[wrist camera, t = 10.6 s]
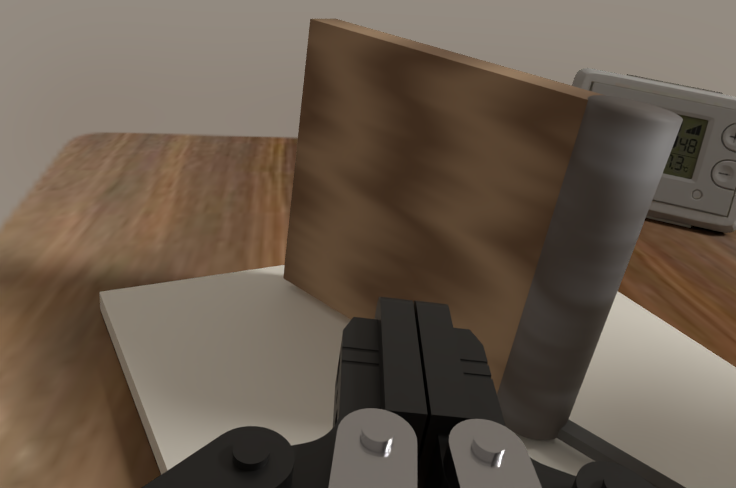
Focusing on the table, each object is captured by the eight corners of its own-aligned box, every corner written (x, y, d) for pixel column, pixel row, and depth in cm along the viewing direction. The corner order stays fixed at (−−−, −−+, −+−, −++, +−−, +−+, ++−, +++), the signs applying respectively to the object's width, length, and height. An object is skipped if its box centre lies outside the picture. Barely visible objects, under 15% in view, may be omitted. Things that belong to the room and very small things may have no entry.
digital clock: (534, 193, 55) (570, 71, 50) (554, 168, 63) (586, 59, 58) (736, 254, 50) (797, 123, 45) (731, 218, 57) (783, 102, 53)
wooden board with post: (868, 584, 21) (1136, 240, 15) (862, 650, 19) (1172, 277, 13) (313, 265, 35) (345, 18, 29) (273, 282, 33) (298, 18, 27)
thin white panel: (519, 243, 45) (523, 227, 45) (1008, 570, 25) (1027, 549, 24) (100, 309, 31) (99, 288, 30) (437, 1223, 10) (452, 1207, 10)
